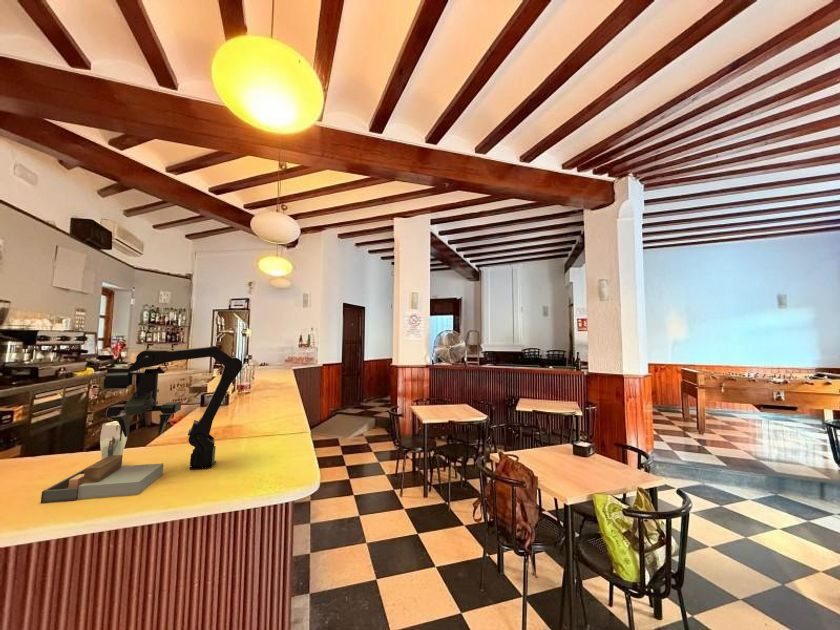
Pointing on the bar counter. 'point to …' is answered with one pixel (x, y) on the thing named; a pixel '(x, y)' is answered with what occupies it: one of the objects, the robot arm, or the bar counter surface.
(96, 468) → the brown wooden plank
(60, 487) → the tray
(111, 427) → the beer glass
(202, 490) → the bar counter surface
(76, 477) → the tile
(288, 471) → the bar counter surface
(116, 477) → the board
